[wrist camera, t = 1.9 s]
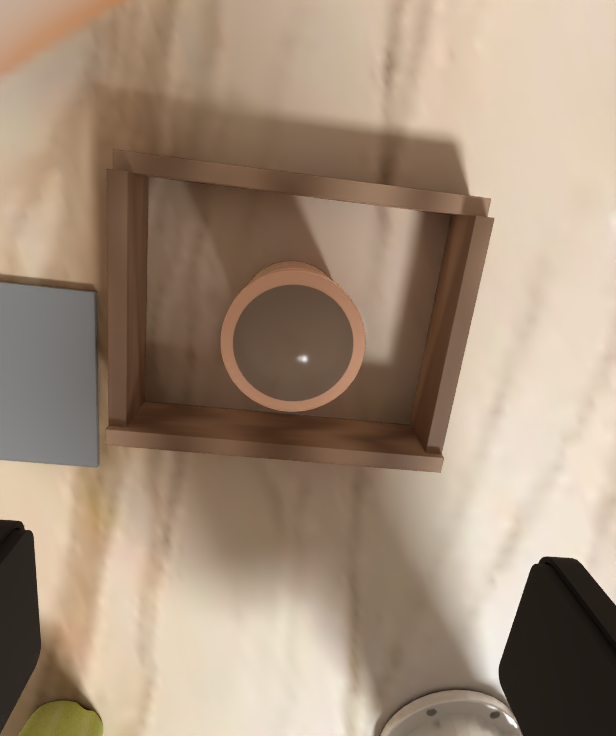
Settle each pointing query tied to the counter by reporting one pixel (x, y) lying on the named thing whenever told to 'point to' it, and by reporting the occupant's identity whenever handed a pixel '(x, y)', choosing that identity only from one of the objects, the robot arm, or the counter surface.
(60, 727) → the plant pot
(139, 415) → the wooden tray
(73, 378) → the mat
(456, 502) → the counter surface
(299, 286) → the terracotta pot
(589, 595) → the robot arm
